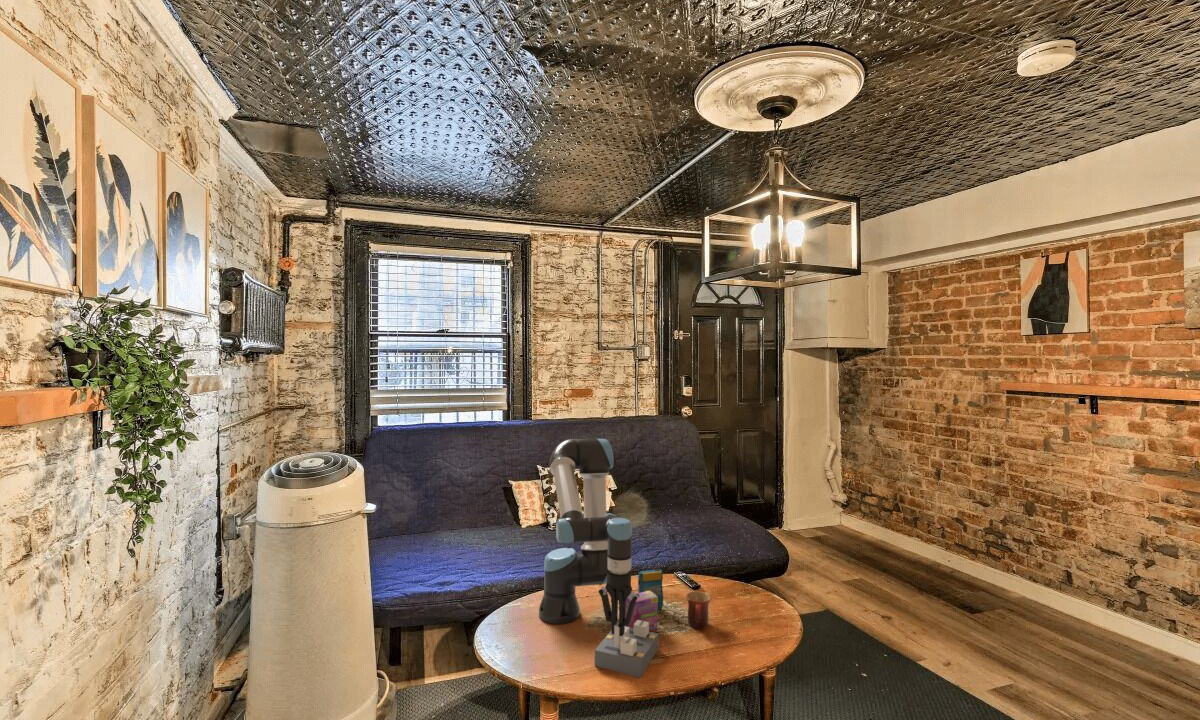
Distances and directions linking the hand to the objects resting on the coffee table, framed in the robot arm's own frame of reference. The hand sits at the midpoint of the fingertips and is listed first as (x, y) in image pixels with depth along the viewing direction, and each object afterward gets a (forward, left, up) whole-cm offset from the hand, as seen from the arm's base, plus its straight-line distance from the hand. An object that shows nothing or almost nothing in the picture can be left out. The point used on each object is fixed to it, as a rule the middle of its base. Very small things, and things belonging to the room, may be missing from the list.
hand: (617, 644), depth 171 cm
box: (-1, +25, -7) cm, 26 cm away
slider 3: (+4, +12, -1) cm, 12 cm away
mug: (+17, +35, -7) cm, 39 cm away
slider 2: (+4, 0, -1) cm, 4 cm away
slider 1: (-1, +6, -1) cm, 6 cm away
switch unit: (+1, +6, -7) cm, 9 cm away
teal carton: (-2, +39, -7) cm, 39 cm away
